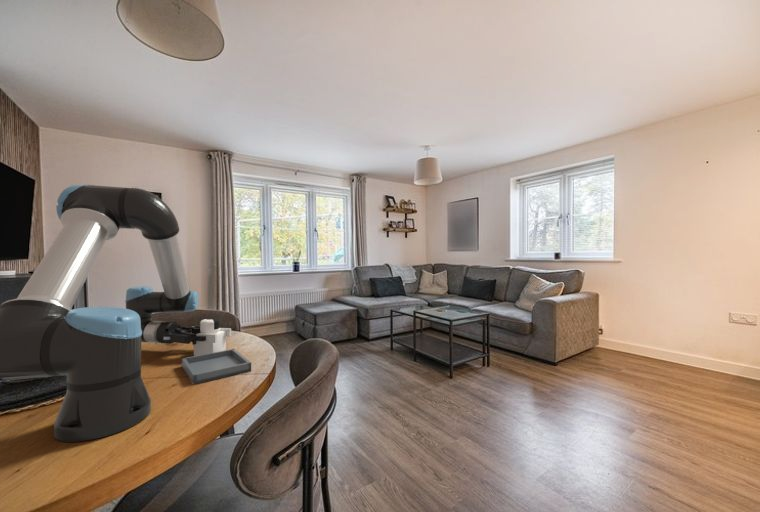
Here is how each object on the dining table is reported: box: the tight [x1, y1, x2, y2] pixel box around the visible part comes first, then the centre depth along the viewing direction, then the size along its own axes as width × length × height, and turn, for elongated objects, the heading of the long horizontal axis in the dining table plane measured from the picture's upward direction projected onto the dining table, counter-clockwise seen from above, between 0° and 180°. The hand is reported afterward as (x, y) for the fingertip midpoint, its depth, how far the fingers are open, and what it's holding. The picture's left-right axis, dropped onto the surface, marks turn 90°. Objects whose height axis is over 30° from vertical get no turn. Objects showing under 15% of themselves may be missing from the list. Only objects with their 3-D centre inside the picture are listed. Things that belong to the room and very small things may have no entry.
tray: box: [181, 348, 252, 385], centre depth 95 cm, size 17×15×2 cm
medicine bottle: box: [193, 317, 227, 356], centre depth 108 cm, size 7×7×12 cm
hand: (223, 335), depth 107 cm, fingers closed on medicine bottle, 7 cm apart
